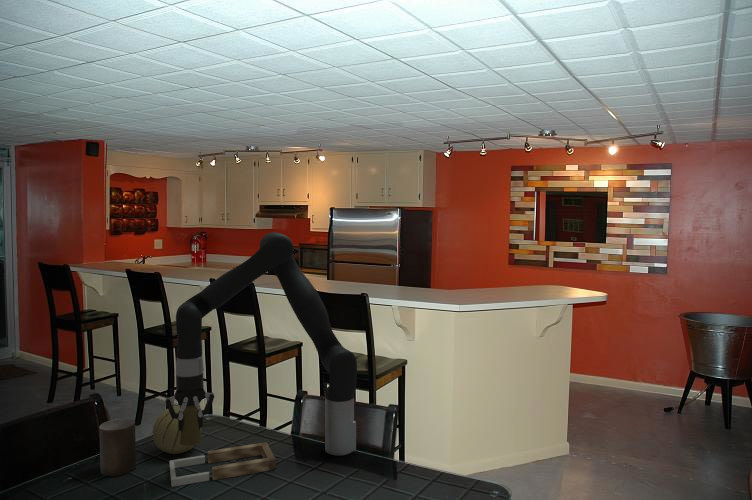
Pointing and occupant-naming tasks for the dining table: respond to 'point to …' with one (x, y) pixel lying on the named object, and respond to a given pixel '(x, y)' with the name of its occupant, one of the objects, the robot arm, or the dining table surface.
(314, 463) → the dining table surface
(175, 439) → the cantaloupe
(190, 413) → the olive gourd
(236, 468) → the oak channel
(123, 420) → the pillar candle
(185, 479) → the grey u-shaped staple
